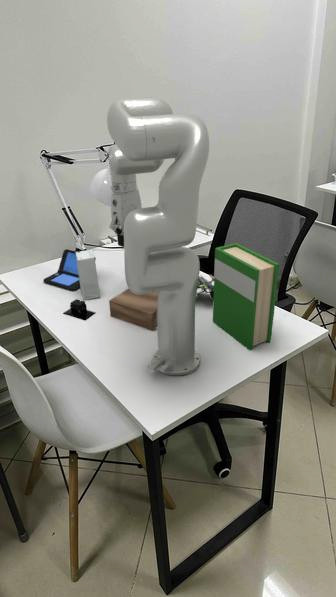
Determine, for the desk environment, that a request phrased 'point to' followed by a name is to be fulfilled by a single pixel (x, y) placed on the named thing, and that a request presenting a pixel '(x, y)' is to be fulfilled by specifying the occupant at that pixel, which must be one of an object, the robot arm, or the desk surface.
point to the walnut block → (135, 308)
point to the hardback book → (244, 294)
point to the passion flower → (205, 286)
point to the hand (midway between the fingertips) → (128, 242)
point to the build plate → (79, 310)
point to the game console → (66, 273)
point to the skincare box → (87, 274)
